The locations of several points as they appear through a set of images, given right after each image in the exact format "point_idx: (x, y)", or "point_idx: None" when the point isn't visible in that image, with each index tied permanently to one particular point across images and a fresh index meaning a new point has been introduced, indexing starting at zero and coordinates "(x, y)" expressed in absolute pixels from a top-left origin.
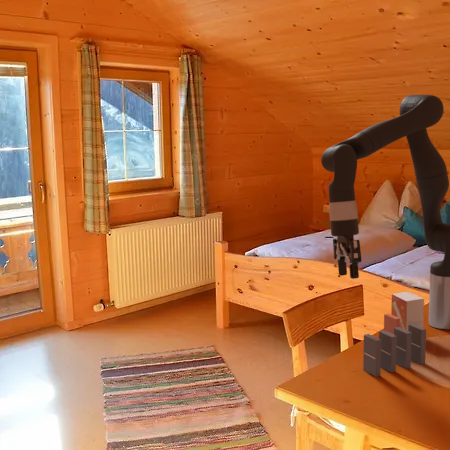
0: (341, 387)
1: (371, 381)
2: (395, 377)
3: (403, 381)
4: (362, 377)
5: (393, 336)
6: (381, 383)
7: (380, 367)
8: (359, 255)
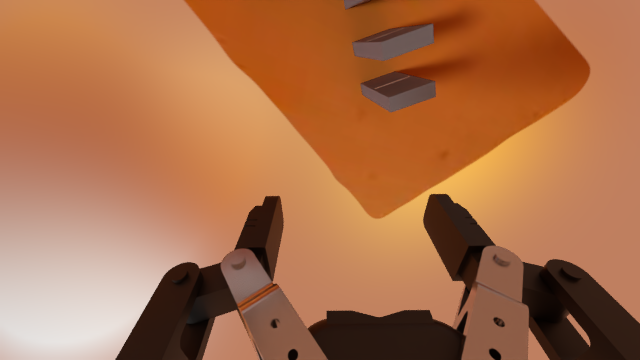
0: (406, 150)
1: None
2: None
3: None
4: None
5: (431, 34)
6: None
7: (402, 73)
8: (619, 319)
